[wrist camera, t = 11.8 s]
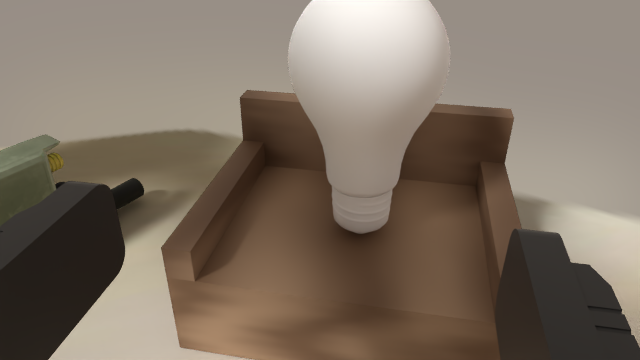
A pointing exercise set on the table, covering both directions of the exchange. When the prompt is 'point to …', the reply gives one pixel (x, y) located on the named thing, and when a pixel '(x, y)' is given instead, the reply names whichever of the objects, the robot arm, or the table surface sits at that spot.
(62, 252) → the robot arm
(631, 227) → the table surface
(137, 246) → the table surface
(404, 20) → the lightbulb
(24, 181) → the handheld radio
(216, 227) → the stand
